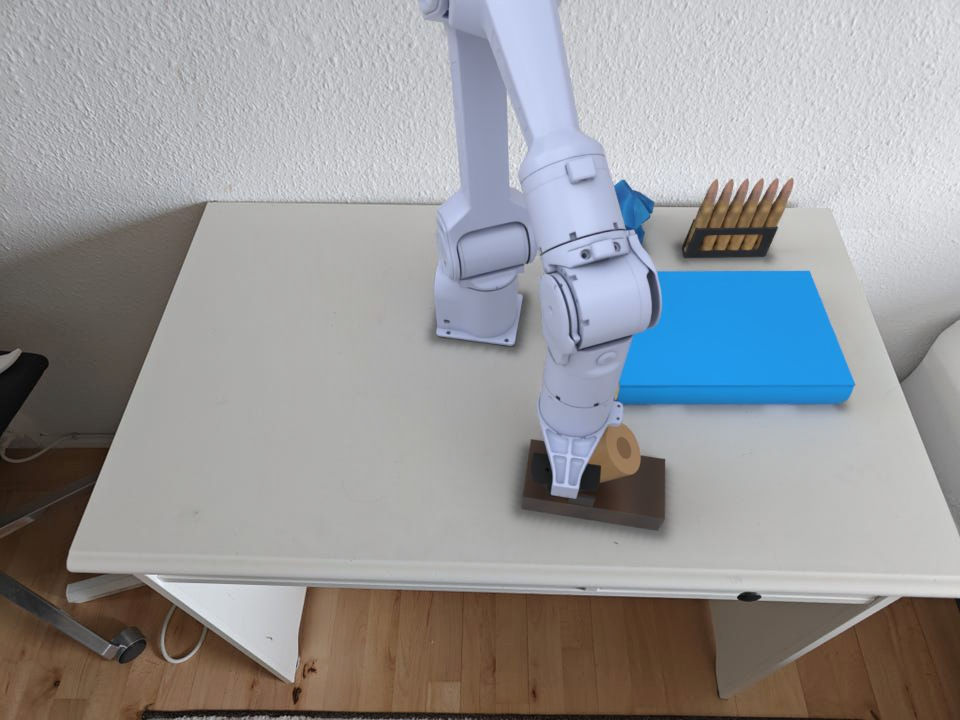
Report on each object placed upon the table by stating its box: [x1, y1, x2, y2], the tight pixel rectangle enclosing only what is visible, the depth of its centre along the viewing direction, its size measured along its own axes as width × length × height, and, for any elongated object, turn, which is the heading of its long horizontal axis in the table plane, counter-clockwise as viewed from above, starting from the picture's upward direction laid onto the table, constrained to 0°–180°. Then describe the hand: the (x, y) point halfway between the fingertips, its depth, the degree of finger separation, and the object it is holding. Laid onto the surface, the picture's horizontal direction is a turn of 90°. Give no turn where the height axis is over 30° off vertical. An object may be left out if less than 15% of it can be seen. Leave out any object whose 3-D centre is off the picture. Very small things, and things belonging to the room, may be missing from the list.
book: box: [613, 270, 856, 405], centre depth 73 cm, size 17×4×25 cm
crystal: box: [613, 179, 655, 247], centre depth 82 cm, size 7×9×12 cm
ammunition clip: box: [681, 177, 795, 259], centre depth 79 cm, size 11×2×12 cm, turn 91°
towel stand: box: [520, 438, 666, 531], centre depth 63 cm, size 14×6×5 cm, turn 80°
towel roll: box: [588, 422, 641, 483], centre depth 59 cm, size 7×5×5 cm
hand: (563, 456), depth 60 cm, fingers open, 7 cm apart
